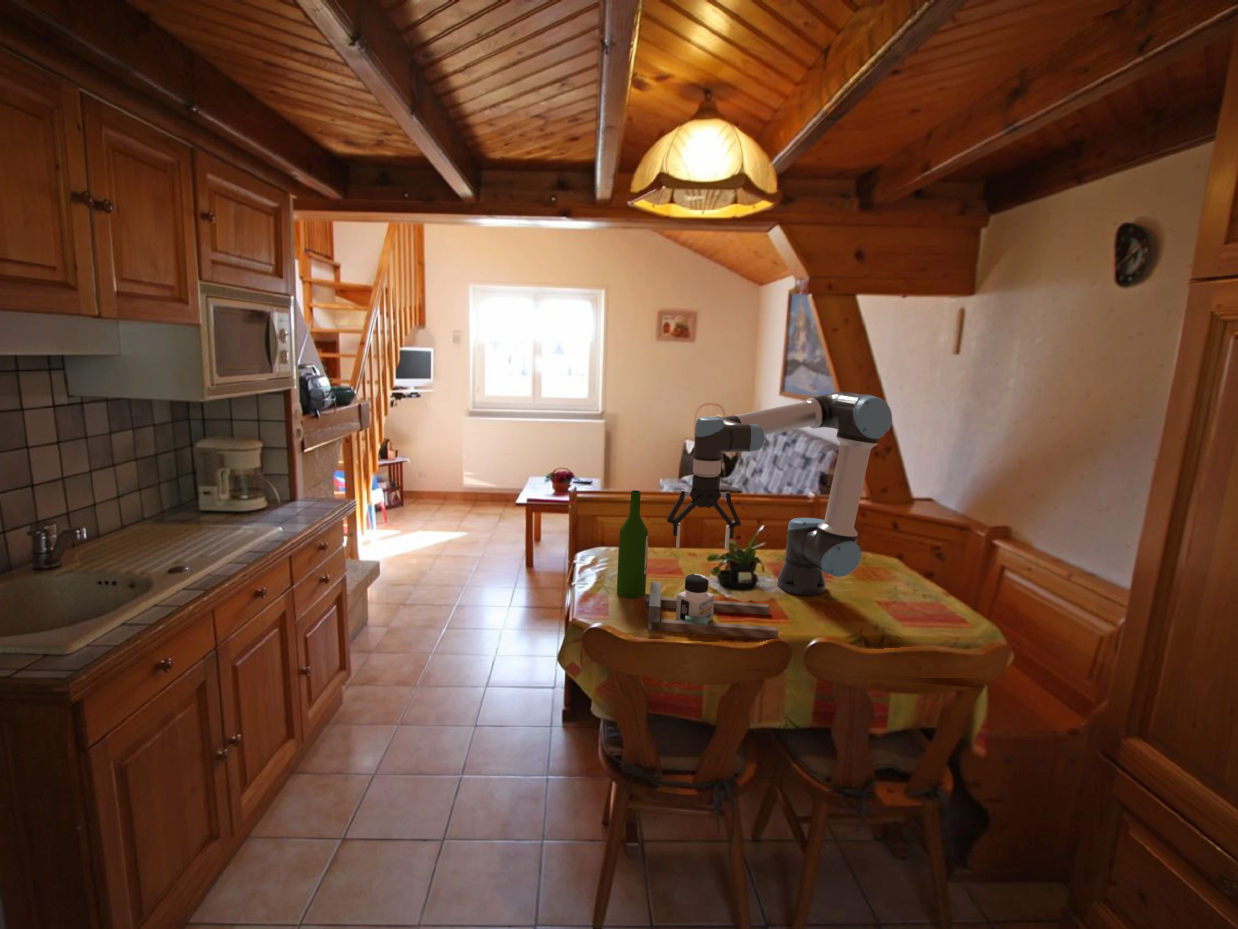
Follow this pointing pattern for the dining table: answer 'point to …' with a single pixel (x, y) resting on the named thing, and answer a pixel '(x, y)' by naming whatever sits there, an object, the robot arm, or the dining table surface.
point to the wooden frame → (701, 623)
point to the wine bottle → (632, 552)
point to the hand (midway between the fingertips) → (702, 548)
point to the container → (695, 598)
